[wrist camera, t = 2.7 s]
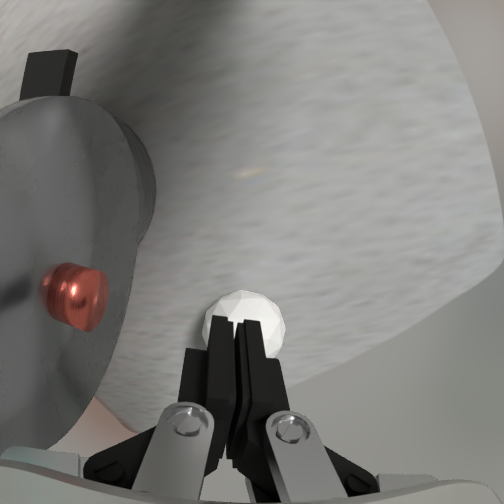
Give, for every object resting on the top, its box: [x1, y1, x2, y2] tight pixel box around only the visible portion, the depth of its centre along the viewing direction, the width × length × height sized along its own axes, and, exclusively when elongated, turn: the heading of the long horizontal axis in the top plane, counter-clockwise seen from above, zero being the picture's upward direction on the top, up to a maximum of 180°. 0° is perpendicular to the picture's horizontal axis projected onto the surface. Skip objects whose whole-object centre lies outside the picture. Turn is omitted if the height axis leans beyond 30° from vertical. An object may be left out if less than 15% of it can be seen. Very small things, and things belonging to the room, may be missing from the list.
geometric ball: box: [202, 290, 286, 358], centre depth 30 cm, size 8×8×8 cm
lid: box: [0, 96, 139, 457], centre depth 12 cm, size 16×16×3 cm
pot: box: [19, 49, 156, 245], centre depth 23 cm, size 24×16×10 cm, turn 169°
